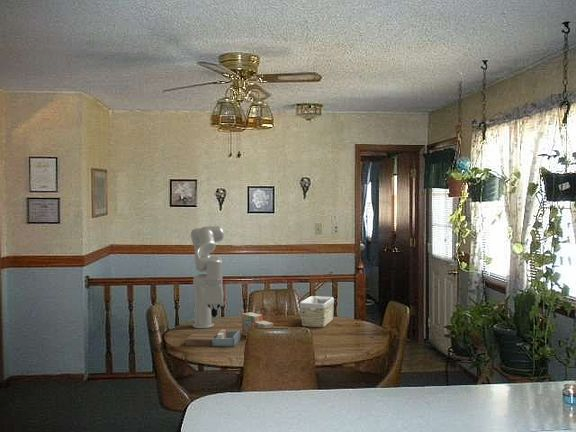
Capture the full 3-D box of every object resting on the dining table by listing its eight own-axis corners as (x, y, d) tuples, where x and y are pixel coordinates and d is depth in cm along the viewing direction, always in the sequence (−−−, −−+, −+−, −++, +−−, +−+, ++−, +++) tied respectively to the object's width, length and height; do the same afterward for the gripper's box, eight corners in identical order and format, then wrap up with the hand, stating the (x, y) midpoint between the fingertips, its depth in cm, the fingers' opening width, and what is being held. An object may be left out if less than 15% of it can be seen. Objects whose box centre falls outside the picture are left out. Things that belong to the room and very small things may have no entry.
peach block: (221, 329, 327) (225, 329, 327) (221, 338, 327) (226, 338, 327) (219, 331, 322) (223, 331, 322) (219, 340, 322) (223, 340, 322)
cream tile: (219, 332, 320) (223, 332, 319) (219, 341, 320) (223, 341, 320) (217, 334, 315) (221, 334, 314) (217, 344, 315) (221, 344, 315)
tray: (219, 337, 331) (219, 329, 330) (241, 338, 329) (240, 329, 329) (211, 346, 313) (211, 336, 313) (234, 346, 311) (234, 337, 311)
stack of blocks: (273, 339, 326) (273, 317, 325) (264, 341, 322) (264, 319, 321) (250, 333, 342) (250, 311, 342) (241, 334, 338) (241, 313, 338)
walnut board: (193, 337, 331) (193, 332, 331) (218, 338, 330) (218, 333, 330) (185, 345, 315) (185, 339, 315) (211, 345, 314) (211, 340, 314)
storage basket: (324, 328, 352) (324, 303, 351) (298, 326, 357) (298, 302, 357) (335, 320, 374) (335, 296, 374) (310, 318, 380) (310, 295, 379)
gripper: (198, 283, 314) (198, 317, 315) (226, 284, 312) (226, 318, 313) (202, 281, 321) (202, 314, 322) (229, 281, 319) (229, 315, 321)
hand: (214, 316), depth 318 cm, fingers closed
